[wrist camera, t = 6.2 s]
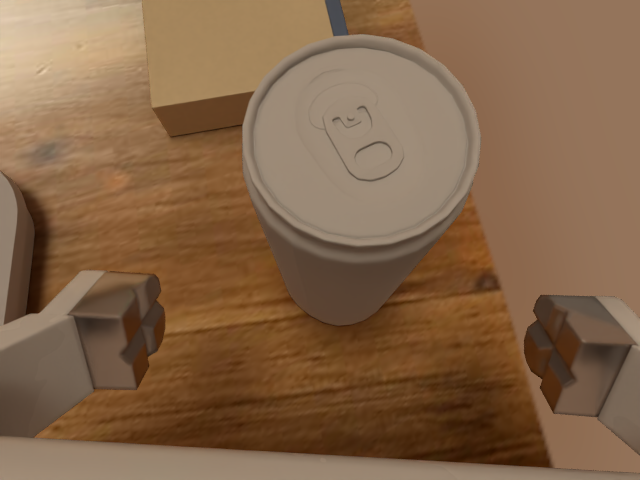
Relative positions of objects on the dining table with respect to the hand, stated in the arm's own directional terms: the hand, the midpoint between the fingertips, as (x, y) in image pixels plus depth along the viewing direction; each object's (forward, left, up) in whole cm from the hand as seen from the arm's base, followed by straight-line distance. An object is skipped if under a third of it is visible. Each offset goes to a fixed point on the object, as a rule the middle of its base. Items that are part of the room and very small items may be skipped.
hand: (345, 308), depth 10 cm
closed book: (+10, -15, -10) cm, 20 cm away
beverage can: (+1, -3, -10) cm, 10 cm away
